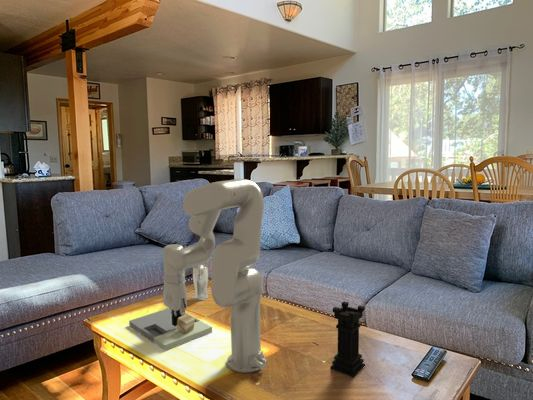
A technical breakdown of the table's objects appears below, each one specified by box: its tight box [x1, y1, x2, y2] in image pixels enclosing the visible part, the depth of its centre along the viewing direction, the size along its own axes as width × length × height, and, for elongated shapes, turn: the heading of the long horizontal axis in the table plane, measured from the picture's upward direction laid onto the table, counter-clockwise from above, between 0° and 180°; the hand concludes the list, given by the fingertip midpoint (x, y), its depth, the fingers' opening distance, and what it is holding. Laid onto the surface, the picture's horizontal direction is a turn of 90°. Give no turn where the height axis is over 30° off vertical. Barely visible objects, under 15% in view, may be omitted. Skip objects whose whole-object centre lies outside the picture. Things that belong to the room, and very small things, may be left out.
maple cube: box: [176, 313, 195, 334], centre depth 152 cm, size 4×4×4 cm
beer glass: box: [192, 264, 209, 301], centre depth 189 cm, size 7×7×15 cm
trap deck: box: [128, 307, 213, 351], centre depth 158 cm, size 28×20×2 cm
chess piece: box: [330, 301, 366, 378], centre depth 128 cm, size 8×8×20 cm
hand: (176, 324), depth 154 cm, fingers closed
